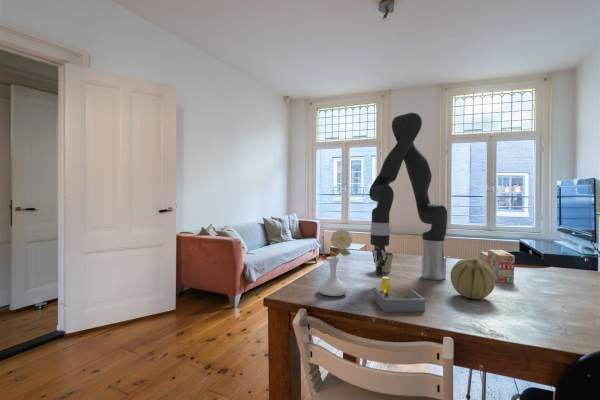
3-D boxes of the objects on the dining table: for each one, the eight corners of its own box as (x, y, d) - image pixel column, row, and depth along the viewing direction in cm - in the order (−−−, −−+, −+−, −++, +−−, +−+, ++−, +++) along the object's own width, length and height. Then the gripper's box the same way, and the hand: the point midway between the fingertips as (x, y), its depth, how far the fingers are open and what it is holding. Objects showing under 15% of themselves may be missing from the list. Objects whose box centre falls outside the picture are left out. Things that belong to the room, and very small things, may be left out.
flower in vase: (313, 296, 115) (314, 229, 114) (323, 287, 125) (323, 226, 124) (348, 301, 110) (349, 231, 109) (355, 291, 120) (355, 227, 119)
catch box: (409, 297, 114) (409, 286, 114) (425, 311, 101) (425, 299, 101) (372, 298, 113) (373, 287, 113) (384, 312, 100) (384, 300, 100)
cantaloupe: (474, 290, 123) (475, 252, 122) (505, 303, 108) (506, 261, 108) (441, 292, 120) (441, 253, 120) (467, 306, 106) (468, 263, 105)
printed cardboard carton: (479, 270, 153) (480, 245, 153) (493, 270, 152) (494, 246, 151) (497, 283, 132) (498, 254, 132) (514, 284, 131) (515, 255, 130)
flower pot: (370, 271, 149) (370, 254, 148) (377, 267, 156) (377, 250, 156) (389, 275, 143) (390, 256, 143) (396, 270, 151) (396, 253, 151)
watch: (380, 290, 122) (379, 275, 123) (386, 290, 122) (386, 275, 123) (384, 295, 116) (384, 279, 117) (391, 294, 116) (391, 279, 117)
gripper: (394, 235, 120) (393, 279, 121) (383, 231, 133) (382, 271, 134) (375, 235, 120) (374, 279, 120) (366, 231, 133) (365, 271, 133)
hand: (378, 275), depth 127 cm, fingers closed
